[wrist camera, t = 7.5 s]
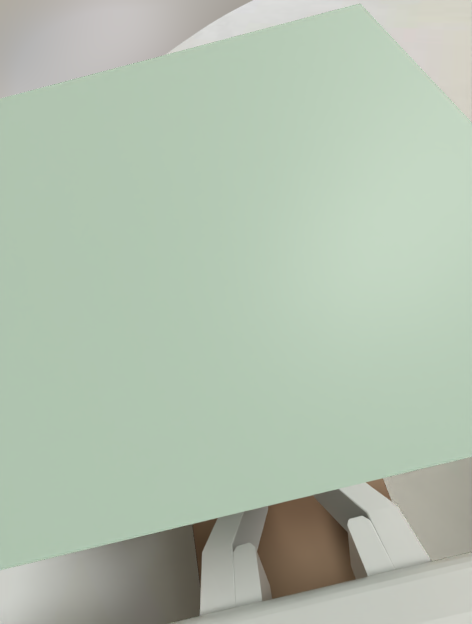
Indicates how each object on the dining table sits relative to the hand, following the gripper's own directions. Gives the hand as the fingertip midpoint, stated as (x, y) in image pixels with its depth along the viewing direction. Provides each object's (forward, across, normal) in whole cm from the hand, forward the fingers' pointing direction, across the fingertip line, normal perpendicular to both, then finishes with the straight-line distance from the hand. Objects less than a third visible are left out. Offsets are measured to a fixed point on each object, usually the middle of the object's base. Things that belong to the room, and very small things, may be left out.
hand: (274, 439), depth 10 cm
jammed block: (+6, 0, +1) cm, 6 cm away
